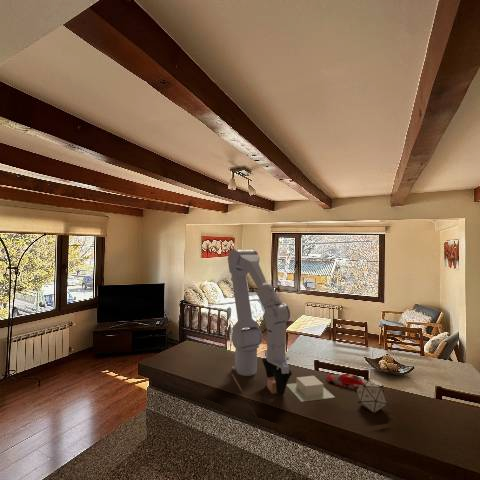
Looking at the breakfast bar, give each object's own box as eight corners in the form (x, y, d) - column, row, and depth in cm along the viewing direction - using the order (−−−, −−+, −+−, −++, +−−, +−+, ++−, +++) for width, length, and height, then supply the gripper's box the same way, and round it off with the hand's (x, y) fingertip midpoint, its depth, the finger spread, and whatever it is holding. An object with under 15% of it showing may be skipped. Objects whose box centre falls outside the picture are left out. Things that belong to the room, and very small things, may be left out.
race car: (324, 385, 98) (324, 373, 99) (328, 379, 103) (328, 367, 103) (367, 396, 92) (367, 383, 92) (369, 389, 97) (369, 376, 97)
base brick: (296, 387, 95) (296, 377, 95) (313, 385, 96) (313, 375, 96) (305, 396, 89) (305, 386, 89) (323, 394, 91) (323, 384, 91)
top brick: (267, 390, 94) (267, 377, 94) (279, 388, 95) (279, 376, 95) (272, 396, 90) (272, 383, 91) (284, 394, 92) (284, 381, 92)
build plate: (285, 386, 97) (285, 384, 97) (316, 383, 99) (316, 380, 99) (301, 404, 86) (301, 401, 86) (335, 399, 89) (335, 397, 89)
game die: (368, 427, 82) (351, 402, 80) (360, 401, 90) (344, 377, 88) (400, 417, 79) (383, 390, 77) (389, 391, 87) (374, 366, 85)
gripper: (298, 350, 87) (298, 397, 87) (279, 335, 101) (278, 376, 101) (276, 352, 85) (275, 400, 85) (259, 337, 99) (258, 378, 99)
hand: (275, 387), depth 93 cm, fingers open, 7 cm apart
